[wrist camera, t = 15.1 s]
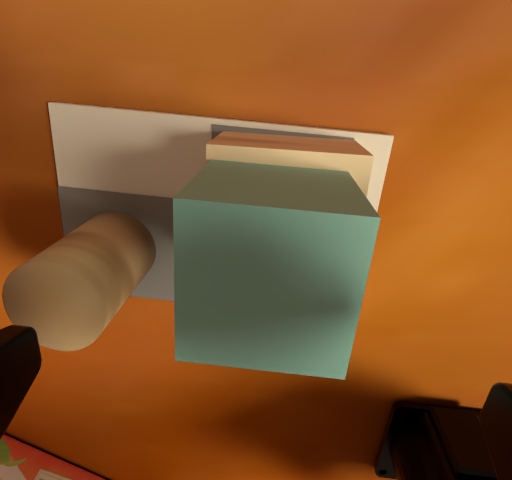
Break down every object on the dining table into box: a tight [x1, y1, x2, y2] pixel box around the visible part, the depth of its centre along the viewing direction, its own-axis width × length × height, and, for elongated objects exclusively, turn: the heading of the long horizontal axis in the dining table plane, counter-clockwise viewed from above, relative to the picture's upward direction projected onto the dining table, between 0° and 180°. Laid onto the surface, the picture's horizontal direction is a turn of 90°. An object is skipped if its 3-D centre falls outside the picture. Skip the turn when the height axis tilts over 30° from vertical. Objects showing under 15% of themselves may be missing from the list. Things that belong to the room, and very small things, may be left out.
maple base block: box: [206, 131, 374, 197], centre depth 16 cm, size 6×6×4 cm
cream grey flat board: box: [48, 102, 394, 301], centre depth 19 cm, size 10×16×1 cm, turn 85°
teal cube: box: [173, 159, 380, 380], centre depth 12 cm, size 5×5×5 cm
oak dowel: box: [2, 211, 156, 351], centre depth 17 cm, size 4×4×6 cm
